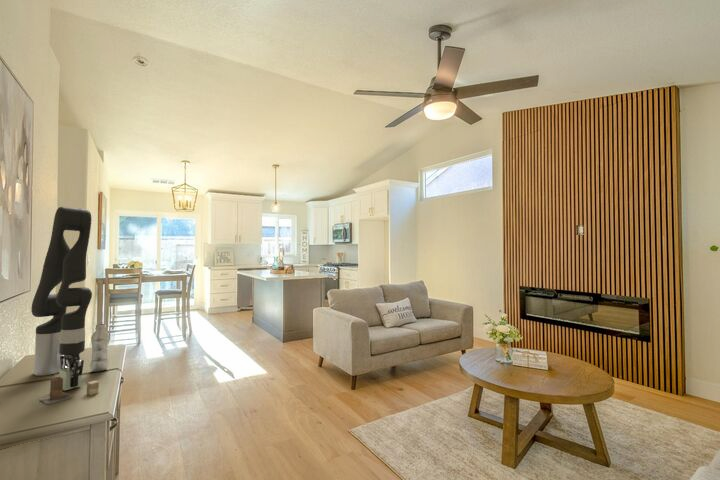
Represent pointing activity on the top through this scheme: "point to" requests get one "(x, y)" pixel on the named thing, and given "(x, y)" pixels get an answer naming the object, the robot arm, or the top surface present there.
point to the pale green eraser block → (68, 379)
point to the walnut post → (56, 392)
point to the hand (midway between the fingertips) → (70, 384)
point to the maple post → (92, 387)
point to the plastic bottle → (99, 348)
